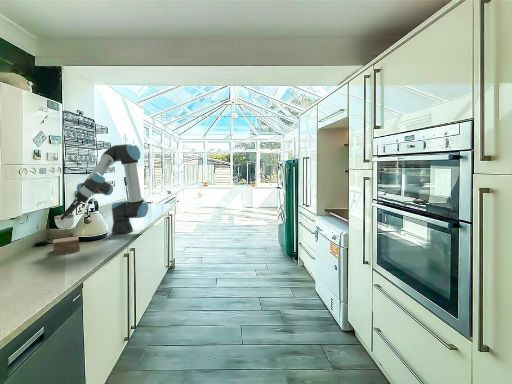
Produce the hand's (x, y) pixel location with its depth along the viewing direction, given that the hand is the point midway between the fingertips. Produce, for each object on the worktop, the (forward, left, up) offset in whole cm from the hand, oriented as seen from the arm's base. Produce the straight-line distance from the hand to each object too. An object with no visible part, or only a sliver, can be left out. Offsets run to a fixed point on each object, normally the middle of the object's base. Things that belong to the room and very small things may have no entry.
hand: (59, 222), depth 241 cm
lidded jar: (0, +3, -4) cm, 5 cm away
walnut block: (0, +2, -18) cm, 18 cm away
